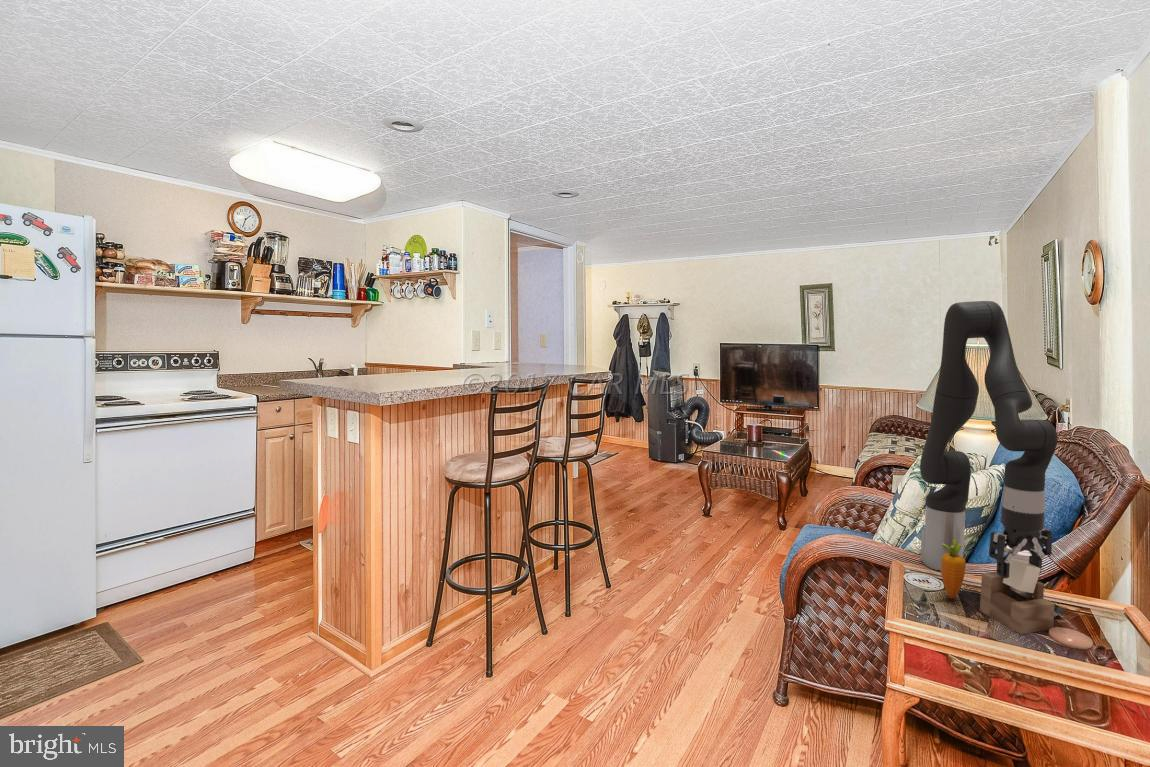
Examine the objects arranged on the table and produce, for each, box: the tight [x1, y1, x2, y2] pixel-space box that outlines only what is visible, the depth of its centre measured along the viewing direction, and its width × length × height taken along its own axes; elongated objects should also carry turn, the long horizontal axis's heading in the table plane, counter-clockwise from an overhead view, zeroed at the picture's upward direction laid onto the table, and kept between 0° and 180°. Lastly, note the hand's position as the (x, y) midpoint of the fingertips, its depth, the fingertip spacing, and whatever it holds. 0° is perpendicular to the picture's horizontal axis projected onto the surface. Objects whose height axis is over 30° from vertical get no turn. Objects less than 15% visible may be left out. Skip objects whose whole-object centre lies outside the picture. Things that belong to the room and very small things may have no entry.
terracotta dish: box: [1048, 626, 1094, 650], centre depth 116 cm, size 7×7×1 cm
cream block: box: [1003, 559, 1042, 593], centre depth 123 cm, size 4×4×6 cm
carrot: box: [941, 539, 967, 600], centre depth 134 cm, size 5×5×15 cm
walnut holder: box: [979, 570, 1056, 635], centre depth 124 cm, size 10×10×10 cm
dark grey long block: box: [1010, 587, 1067, 618], centre depth 125 cm, size 13×4×3 cm
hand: (1018, 574), depth 123 cm, fingers open, 8 cm apart
